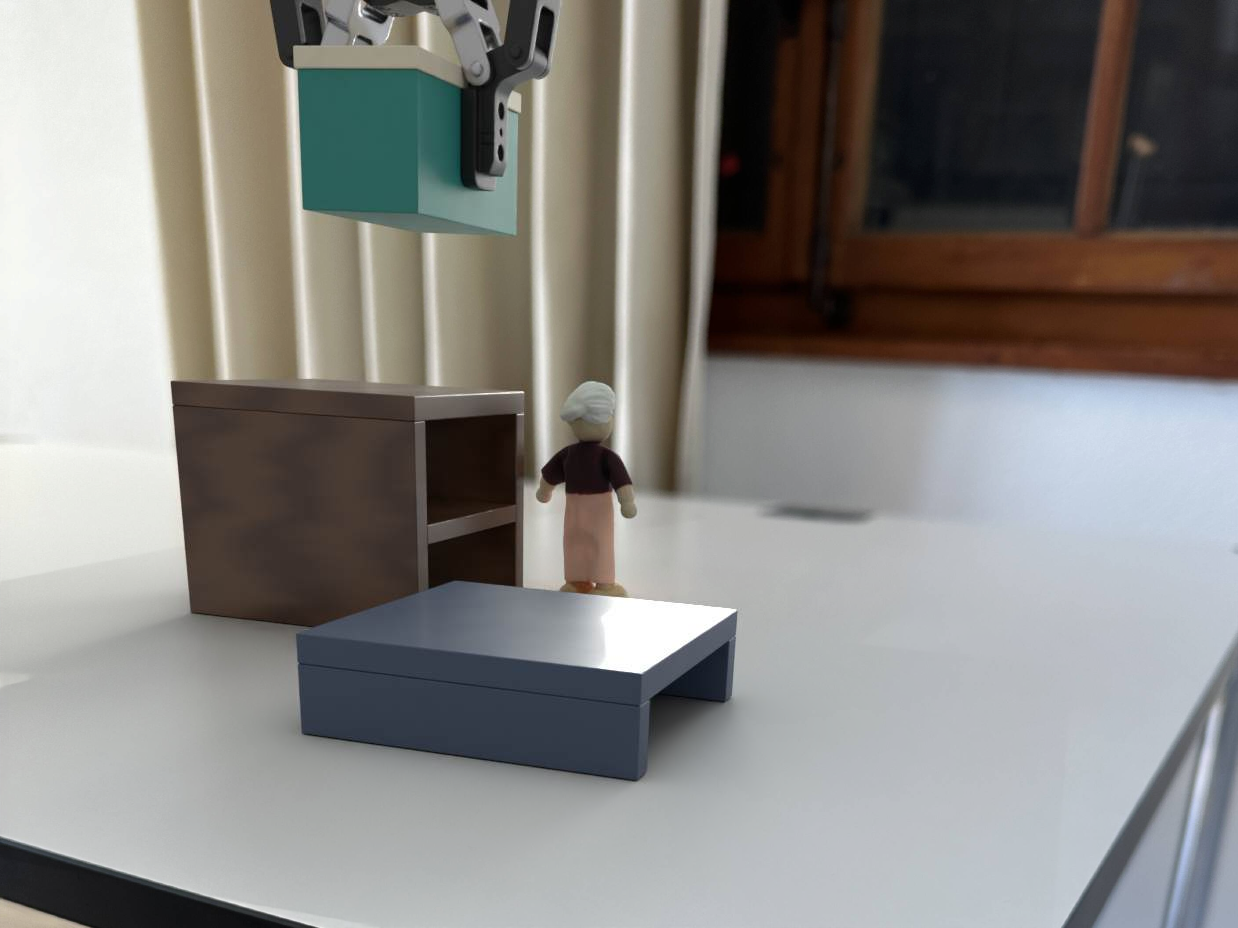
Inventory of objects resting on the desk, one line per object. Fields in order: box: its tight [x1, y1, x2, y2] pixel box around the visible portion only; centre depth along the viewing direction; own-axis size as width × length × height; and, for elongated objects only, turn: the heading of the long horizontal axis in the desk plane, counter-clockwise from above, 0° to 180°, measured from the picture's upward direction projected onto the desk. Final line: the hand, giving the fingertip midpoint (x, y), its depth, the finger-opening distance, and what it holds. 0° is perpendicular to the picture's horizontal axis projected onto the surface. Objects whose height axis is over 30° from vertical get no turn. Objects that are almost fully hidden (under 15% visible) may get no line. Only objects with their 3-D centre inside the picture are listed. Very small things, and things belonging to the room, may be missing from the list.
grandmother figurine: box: [535, 380, 638, 598], centre depth 81 cm, size 8×4×13 cm, turn 65°
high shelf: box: [170, 378, 525, 628], centre depth 75 cm, size 14×14×12 cm
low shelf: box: [295, 581, 739, 781], centre depth 55 cm, size 14×14×4 cm
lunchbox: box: [293, 44, 522, 237], centre depth 58 cm, size 6×10×6 cm, turn 162°
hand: (414, 185), depth 59 cm, fingers closed on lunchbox, 5 cm apart
